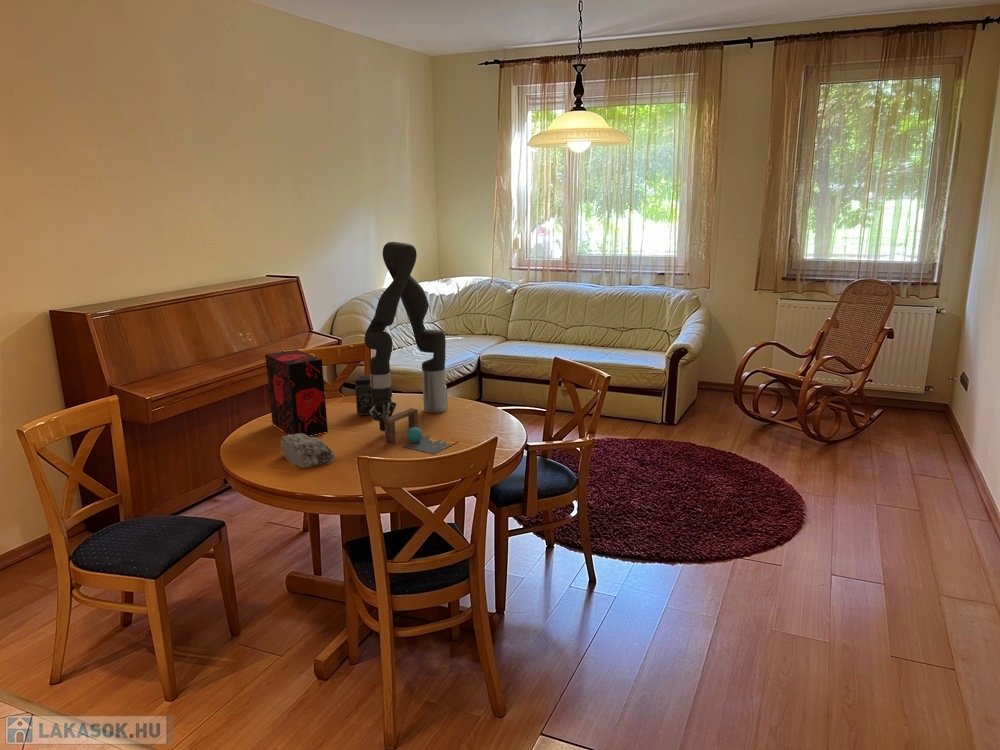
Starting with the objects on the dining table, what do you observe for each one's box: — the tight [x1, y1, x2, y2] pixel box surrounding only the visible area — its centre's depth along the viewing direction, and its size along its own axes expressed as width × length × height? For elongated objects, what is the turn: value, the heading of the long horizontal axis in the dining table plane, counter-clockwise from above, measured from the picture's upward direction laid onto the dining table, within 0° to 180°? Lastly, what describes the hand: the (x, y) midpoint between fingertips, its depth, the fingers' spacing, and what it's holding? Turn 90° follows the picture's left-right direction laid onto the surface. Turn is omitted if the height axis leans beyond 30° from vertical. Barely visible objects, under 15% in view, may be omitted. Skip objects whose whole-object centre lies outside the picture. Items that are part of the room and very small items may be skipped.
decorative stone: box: [280, 433, 337, 469], centre depth 231 cm, size 20×14×10 cm
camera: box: [354, 374, 373, 416], centre depth 281 cm, size 10×11×15 cm
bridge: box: [384, 407, 420, 446], centre depth 250 cm, size 3×15×9 cm, turn 147°
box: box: [264, 349, 329, 437], centre depth 261 cm, size 23×12×28 cm, turn 38°
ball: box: [406, 427, 423, 443], centre depth 246 cm, size 6×6×6 cm
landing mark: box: [402, 434, 451, 455], centre depth 244 cm, size 14×14×1 cm
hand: (383, 430), depth 255 cm, fingers closed
